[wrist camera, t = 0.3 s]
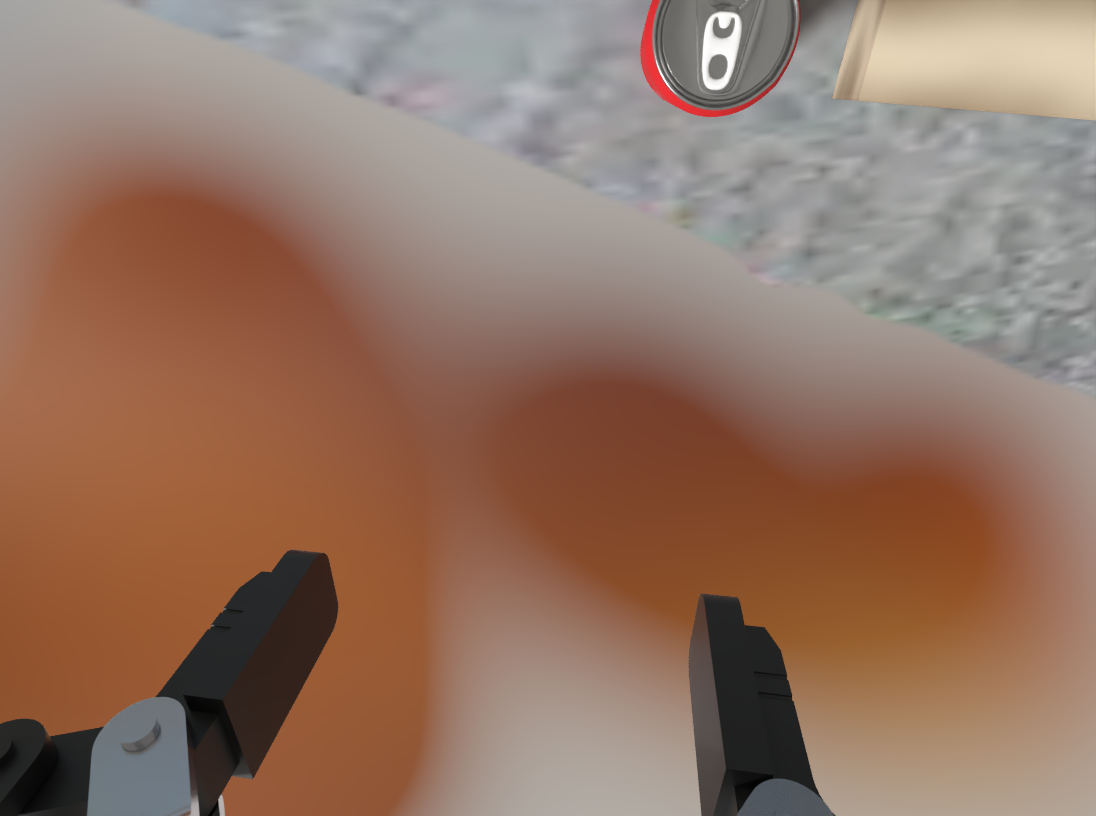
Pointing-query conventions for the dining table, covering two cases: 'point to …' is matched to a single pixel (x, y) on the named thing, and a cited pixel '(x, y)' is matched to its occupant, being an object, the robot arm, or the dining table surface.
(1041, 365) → the dining table surface
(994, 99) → the beech block
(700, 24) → the beverage can
